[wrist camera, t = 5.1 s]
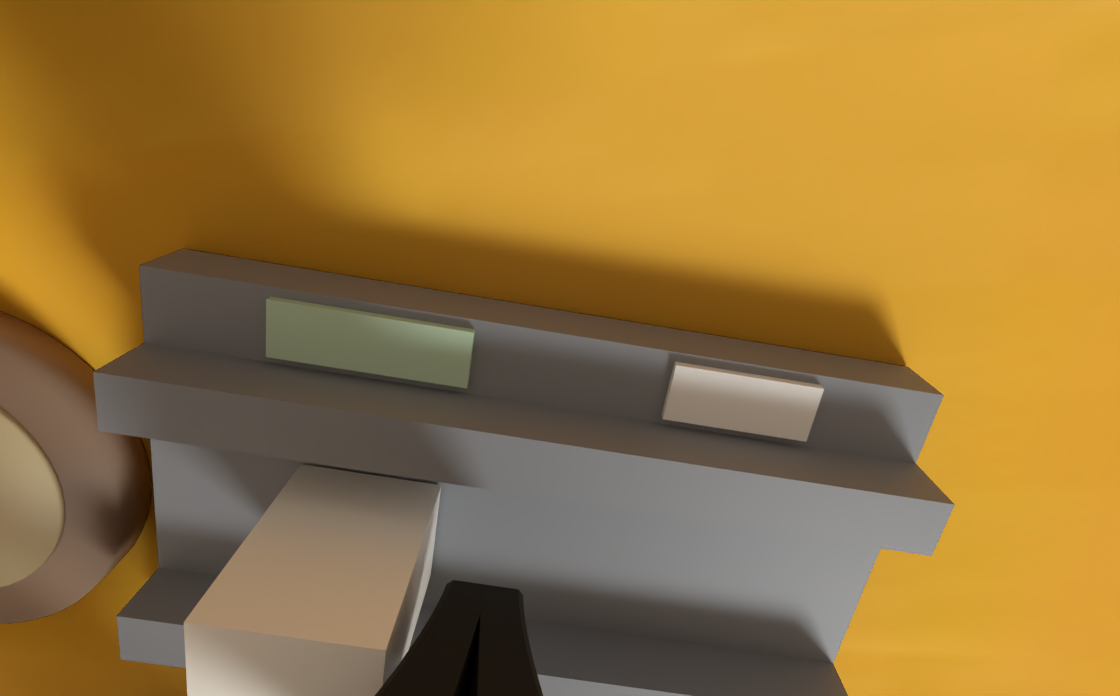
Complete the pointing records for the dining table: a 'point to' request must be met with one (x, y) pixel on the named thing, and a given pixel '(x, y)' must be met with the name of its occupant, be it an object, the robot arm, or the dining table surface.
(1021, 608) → the dining table surface
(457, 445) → the switch board
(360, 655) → the switch tab
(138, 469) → the lamp base
